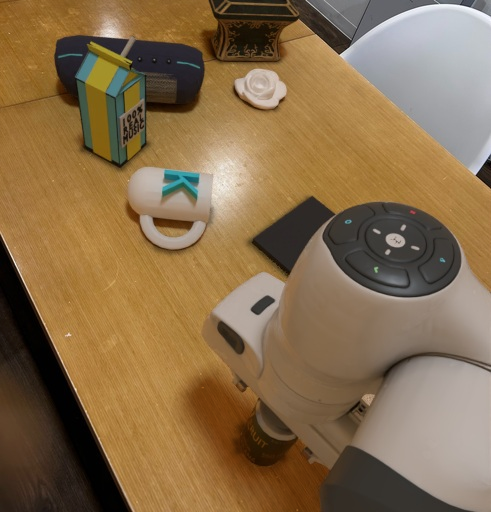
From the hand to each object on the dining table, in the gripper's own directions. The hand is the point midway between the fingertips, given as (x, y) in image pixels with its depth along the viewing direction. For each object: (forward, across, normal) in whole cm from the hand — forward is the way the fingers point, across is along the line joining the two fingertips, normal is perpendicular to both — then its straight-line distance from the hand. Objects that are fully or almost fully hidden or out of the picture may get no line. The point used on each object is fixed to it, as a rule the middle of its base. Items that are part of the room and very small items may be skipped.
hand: (275, 417), depth 50 cm
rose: (+10, +45, -47) cm, 66 cm away
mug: (+10, +32, -13) cm, 36 cm away
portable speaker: (+10, +58, -27) cm, 64 cm away
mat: (+9, +11, -27) cm, 30 cm away
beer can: (+9, 0, 0) cm, 9 cm away
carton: (+10, +49, -17) cm, 52 cm away
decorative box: (+10, +58, -54) cm, 80 cm away
